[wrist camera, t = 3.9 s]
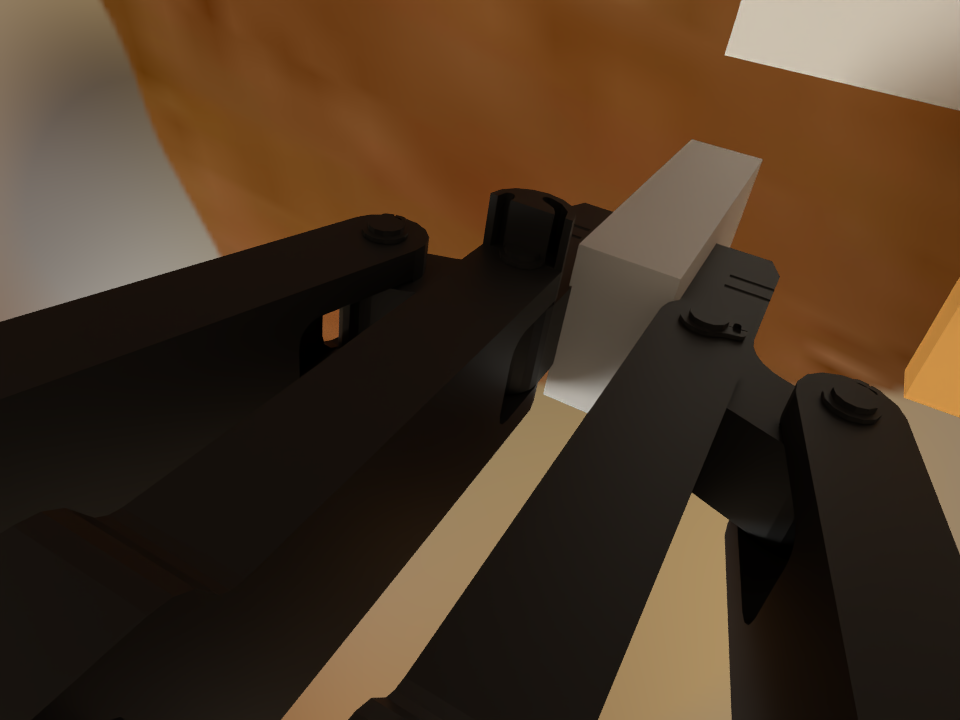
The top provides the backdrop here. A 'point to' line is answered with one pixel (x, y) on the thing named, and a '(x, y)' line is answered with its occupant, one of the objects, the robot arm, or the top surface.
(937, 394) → the orange bar with knob
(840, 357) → the top surface
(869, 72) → the socket board
